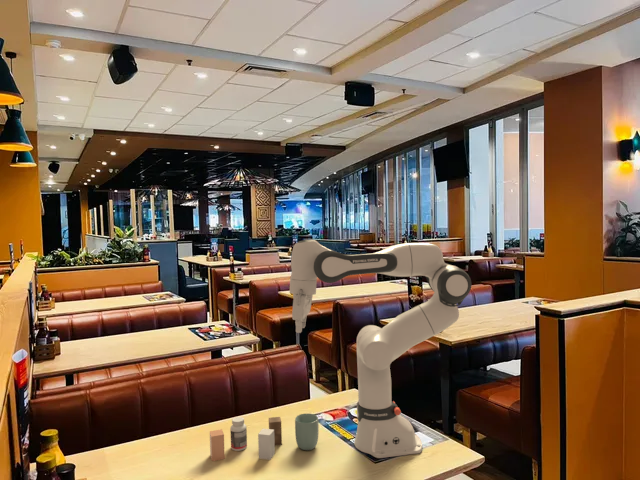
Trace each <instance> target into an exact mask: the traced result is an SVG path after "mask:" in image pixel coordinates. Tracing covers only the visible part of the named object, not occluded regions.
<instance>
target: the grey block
mask: <svg viewBox="0 0 640 480" xmlns="http://www.w3.org/2000/svg"><path fill="white" fill-rule="evenodd" d="M257 440H258V442H257V444H258V459H262V460H270V461H271V460H272V459H273V457H274V456H275V454H276V453H275V452H276V451H275V450H276V449H275V448H276V447H275V446H276V445H275V440H274V430H273V429H269V428H262V429H261V430H260V431H259V433H258V435H257Z"/></svg>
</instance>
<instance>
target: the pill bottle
mask: <svg viewBox="0 0 640 480" xmlns="http://www.w3.org/2000/svg"><path fill="white" fill-rule="evenodd" d="M247 428H248V427H247V424H245V418H244V417H243V416H236V417H233V418H232V419H231V426H230V448H231V450H232V451H236V452H239V451H243V450H245V449H247V447H248V436H247V435H248V433H247V432H248V431H247Z"/></svg>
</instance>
